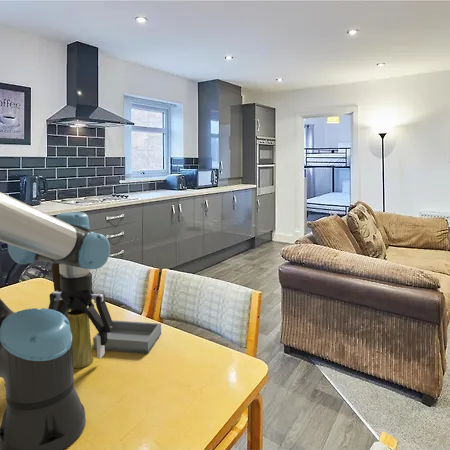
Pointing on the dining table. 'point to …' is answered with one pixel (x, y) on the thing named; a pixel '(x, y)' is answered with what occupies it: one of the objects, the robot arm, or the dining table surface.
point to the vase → (80, 338)
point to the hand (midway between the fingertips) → (80, 354)
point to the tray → (131, 337)
